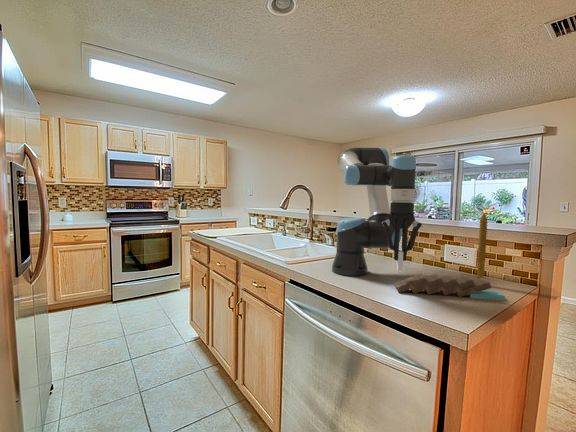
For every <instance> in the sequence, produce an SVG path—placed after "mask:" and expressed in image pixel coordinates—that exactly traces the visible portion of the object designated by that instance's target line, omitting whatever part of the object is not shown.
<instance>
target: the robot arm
mask: <svg viewBox="0 0 576 432" xmlns="http://www.w3.org/2000/svg"><path fill="white" fill-rule="evenodd" d="M391 159H392V161H391V165H390V155H389V152H388V149H386V148H385V147H378V146H376V147H356V146H355V147H351V148H348V149H345V150H344V151H342V152H341V153H340V154H339V155H338V158H337V165H338V167H339V168H340V169H341V170H342V171H343V182H344V183H343V184H345V185H347V186H366V189H367V190H366V191H367V198H368V209H369V217H367V220H366V219H365V217H352V218H351V217H350V218H343V219H341V220H340V219H339V221H338V222H337V224H336V225H337V226H336V253H335V256H334V259H333V261H332V264H331V271H332V272H333V273H334V274H337V275H342V276H346V277H348V276H350V277H360V276H365V275H367V274H368V272H369V271H368V270H369V269H368V265H367V264H368V263H367V262H366V257H365V249H385V250H388V249H390V250H393V259H394V261H396V270H397V271H398V272H399V271H400V272H403V271H404V270H403V269H404V262H405V261H407V253H408V251H412V250H413V248H414V246H415V241H416V239H417V236H418V231H419V229H420V228H421V227H422V225H423V224H422V223H421V222H419V221H418V220H417V219H416V217H415V215H414V213H415V203H414V201H415V191H416V190H415V189H416V169H417V164H416V163H417V162H416V157H415V156H414V155H405V154H404V155H395V156H393V157H392V158H391ZM387 186H388V187H390V201H391V202H390V203H389V198H388V191H387ZM411 226H412V230H411V233H410V235H409V236H410V237H409V239H408V232H409V228H410V227H411ZM400 243H401V250H400Z"/></svg>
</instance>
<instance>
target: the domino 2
mask: <svg viewBox="0 0 576 432" xmlns="http://www.w3.org/2000/svg"><path fill="white" fill-rule="evenodd" d="M425 277H426V279H427V281H428V283H426V284H423V285H420V286H417V287H415V288H412V289H410V290H411V292H412V294H414V295H415V294H417V293H421V292H425V291H424V290H426V289H429V288H432V287H435V286H438V285H440V284H443V281H442V279H441V278H442V277H441V276H440V275H438V274H437V273H435V274H431V275H428V276H425Z"/></svg>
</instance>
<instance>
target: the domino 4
mask: <svg viewBox="0 0 576 432" xmlns="http://www.w3.org/2000/svg"><path fill="white" fill-rule="evenodd" d="M455 279H456V280H457V282H458V285H456V286H453V287H450V288H447V289H444V290H441V291H439V292H440V293H441V294H442V295H443V296H444V297H445V296H447V295H450V294H453V293H454V292H456V291H459V290H462V289H465V288H468V287H471V286H473V285H475V284H474V282H473V280H474V279H473V278H472V277H469V276H468V275H467V274H465V275H461V276H459V277H457V278H456V277H455Z"/></svg>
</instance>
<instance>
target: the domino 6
mask: <svg viewBox="0 0 576 432" xmlns="http://www.w3.org/2000/svg"><path fill="white" fill-rule="evenodd" d="M466 296H467V297H468V298H470V299H478V300H479V299H480V300H493V301H494V300H495V301H505V299H506V295H504V294H503V293H501V292H500V291H498V290H491V289H486V290H483V291H479V292H476V293H472V294H469V295H466Z"/></svg>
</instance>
